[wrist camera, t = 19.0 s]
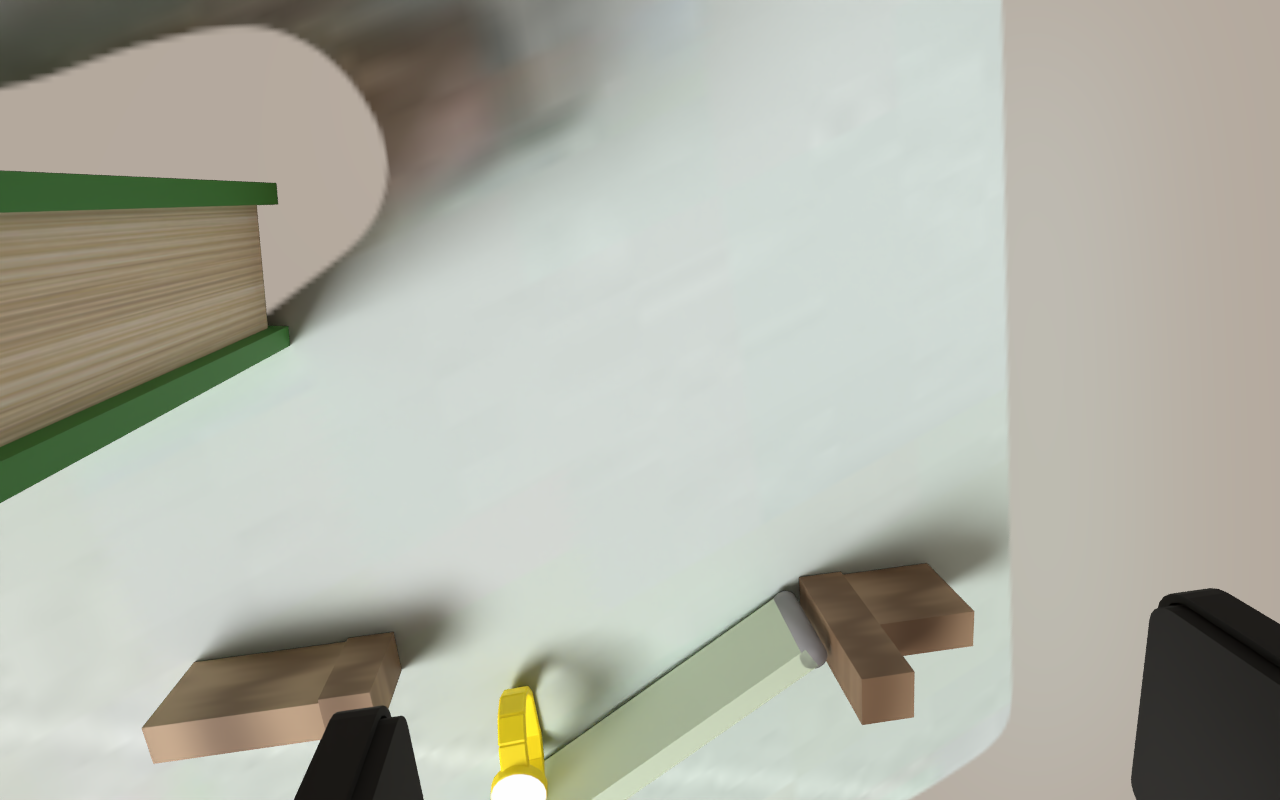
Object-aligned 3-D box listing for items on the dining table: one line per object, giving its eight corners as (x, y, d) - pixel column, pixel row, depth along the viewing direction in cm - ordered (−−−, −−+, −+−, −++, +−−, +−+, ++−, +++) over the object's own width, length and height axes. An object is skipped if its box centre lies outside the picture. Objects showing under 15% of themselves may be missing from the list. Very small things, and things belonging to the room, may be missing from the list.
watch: (557, 746, 43) (558, 837, 37) (510, 755, 42) (503, 848, 37) (539, 663, 41) (536, 747, 35) (489, 672, 40) (478, 758, 35)
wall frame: (926, 560, 41) (1022, 656, 33) (926, 597, 42) (1019, 701, 33) (193, 658, 39) (85, 792, 30) (204, 697, 39) (103, 838, 31)
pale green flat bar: (787, 586, 40) (817, 639, 36) (811, 617, 41) (844, 672, 36) (483, 802, 42) (473, 879, 38) (511, 828, 43) (505, 907, 38)
